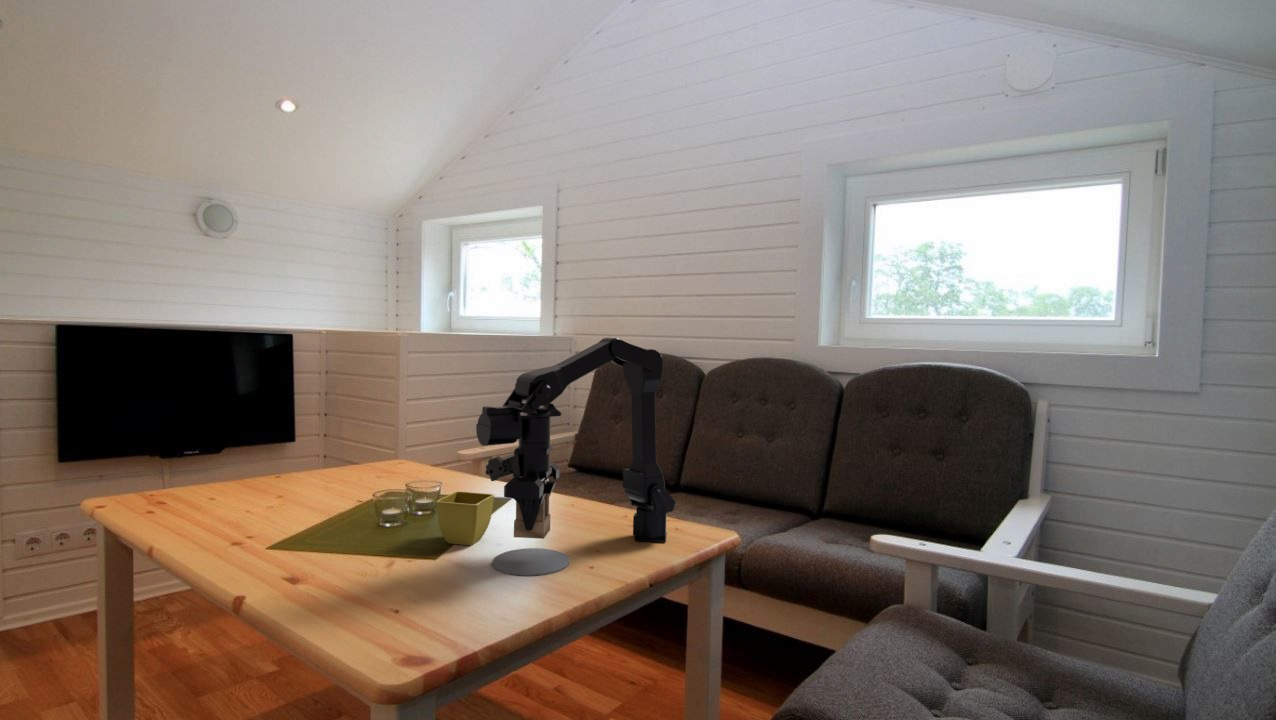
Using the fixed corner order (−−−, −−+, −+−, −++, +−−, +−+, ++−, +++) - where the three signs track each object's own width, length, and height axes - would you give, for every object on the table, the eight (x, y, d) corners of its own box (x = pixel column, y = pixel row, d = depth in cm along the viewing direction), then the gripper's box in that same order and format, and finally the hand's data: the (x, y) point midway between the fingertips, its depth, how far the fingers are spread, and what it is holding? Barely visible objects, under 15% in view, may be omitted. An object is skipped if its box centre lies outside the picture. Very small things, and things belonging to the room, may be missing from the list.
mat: (575, 552, 130) (575, 550, 130) (561, 578, 116) (561, 575, 116) (504, 548, 131) (504, 546, 131) (482, 573, 117) (482, 571, 117)
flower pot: (475, 550, 129) (476, 504, 129) (434, 546, 131) (434, 500, 131) (494, 537, 138) (495, 494, 138) (455, 533, 140) (455, 491, 139)
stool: (550, 529, 126) (550, 493, 126) (543, 538, 120) (544, 500, 120) (521, 528, 126) (522, 491, 126) (513, 537, 121) (514, 498, 120)
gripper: (505, 432, 133) (503, 510, 133) (475, 448, 114) (473, 538, 114) (560, 434, 132) (559, 513, 132) (539, 450, 113) (537, 541, 114)
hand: (532, 525), depth 123 cm, fingers closed on stool, 5 cm apart
